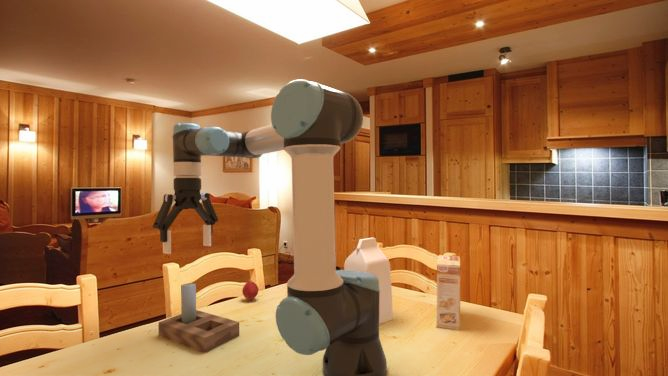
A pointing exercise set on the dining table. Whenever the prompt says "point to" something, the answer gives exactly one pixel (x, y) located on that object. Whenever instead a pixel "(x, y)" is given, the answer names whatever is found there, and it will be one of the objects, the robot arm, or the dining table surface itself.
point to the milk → (374, 272)
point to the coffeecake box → (448, 292)
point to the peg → (188, 303)
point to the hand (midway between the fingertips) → (188, 249)
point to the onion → (250, 290)
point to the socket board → (199, 331)
